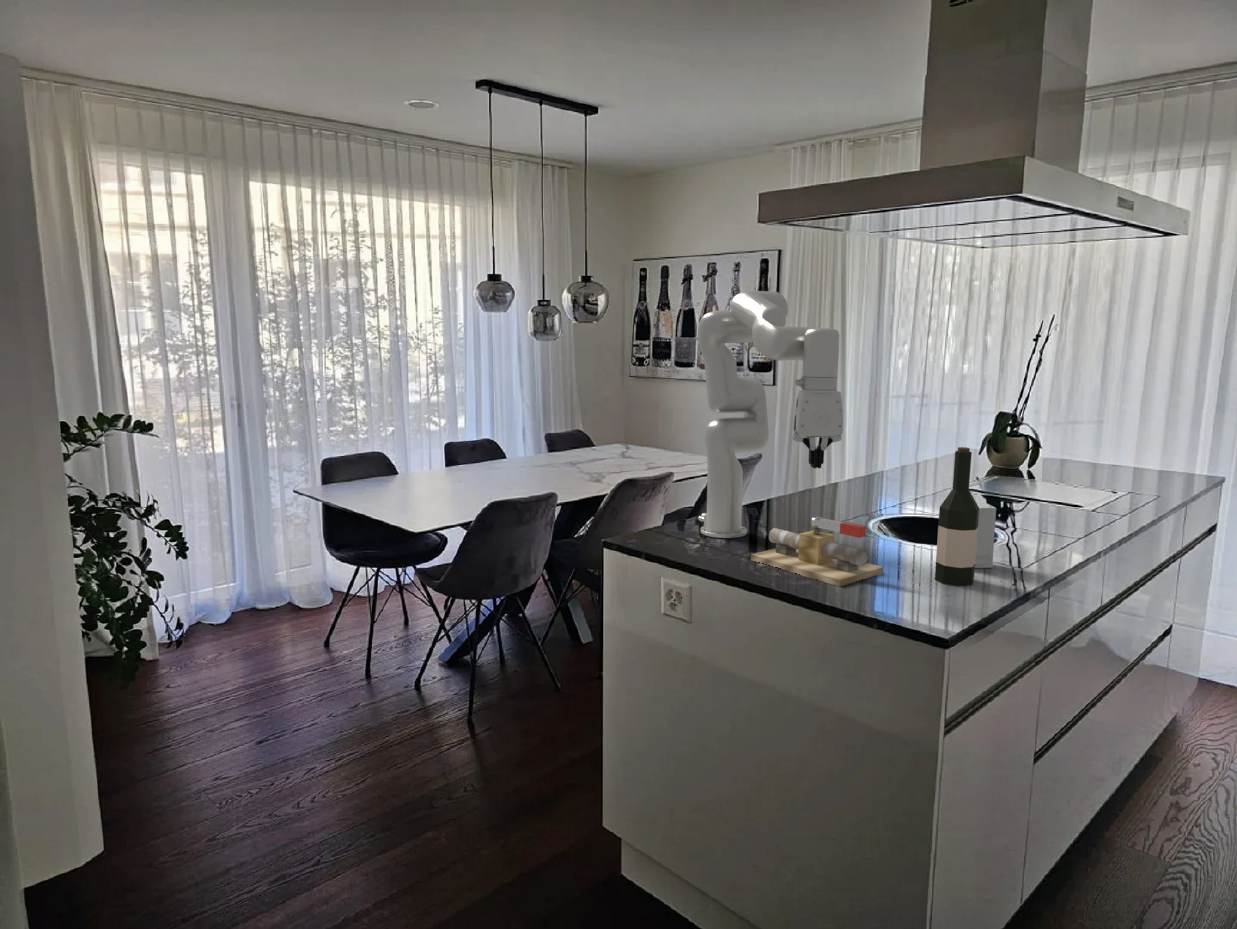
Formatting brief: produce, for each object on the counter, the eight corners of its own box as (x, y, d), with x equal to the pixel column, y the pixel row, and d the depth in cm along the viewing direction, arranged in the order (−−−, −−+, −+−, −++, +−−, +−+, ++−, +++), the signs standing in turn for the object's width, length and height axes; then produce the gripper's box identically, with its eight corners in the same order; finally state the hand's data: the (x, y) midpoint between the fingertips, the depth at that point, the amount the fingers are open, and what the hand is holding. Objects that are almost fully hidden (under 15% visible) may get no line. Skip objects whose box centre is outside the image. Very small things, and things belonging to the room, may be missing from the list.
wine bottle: (960, 588, 180) (970, 451, 175) (926, 579, 187) (935, 447, 182) (981, 581, 185) (992, 448, 180) (948, 573, 191) (957, 444, 186)
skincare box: (981, 561, 201) (985, 501, 198) (993, 569, 195) (998, 507, 192) (947, 562, 200) (951, 502, 198) (958, 569, 194) (963, 507, 192)
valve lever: (859, 538, 184) (859, 527, 184) (809, 527, 195) (809, 517, 194) (865, 536, 186) (866, 525, 186) (815, 525, 196) (816, 515, 196)
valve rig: (751, 560, 201) (752, 522, 200) (794, 549, 211) (795, 513, 209) (839, 586, 181) (841, 544, 179) (882, 573, 191) (885, 533, 189)
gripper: (790, 386, 178) (786, 470, 181) (858, 386, 179) (854, 470, 182) (781, 383, 185) (778, 464, 189) (847, 383, 186) (843, 464, 189)
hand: (815, 467), depth 185 cm, fingers closed
